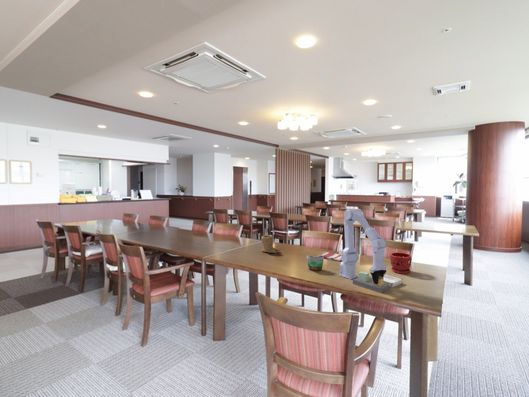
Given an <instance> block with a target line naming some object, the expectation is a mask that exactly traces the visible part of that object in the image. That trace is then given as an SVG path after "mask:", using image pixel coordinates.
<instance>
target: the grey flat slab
mask: <svg viewBox="0 0 529 397" xmlns="http://www.w3.org/2000/svg"><path fill="white" fill-rule="evenodd" d="M352 285H356V286H359V287H361V288H364V289H368V290H370V291H374V292H376V293H379V294H382V293H384V292H386V291H387V292H388V291H389V290H390V287H389V285H388V284H385V283H383V285H382V286H378V285H375V284H372V280H371V279H369V281H367V282H365V281H362V280H359V277H356V278H353V279H352Z"/></svg>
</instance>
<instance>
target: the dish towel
mask: <svg viewBox="0 0 529 397" xmlns="http://www.w3.org/2000/svg"><path fill="white" fill-rule="evenodd" d="M323 255H324V259H323V260H329V261H334V262H340V263H341V262H342V259H341V256H342V254H339V253H335V252H328V251H327V252H323V253H322V254H319V255H317V256H319V257H322V256H323Z"/></svg>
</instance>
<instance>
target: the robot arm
mask: <svg viewBox="0 0 529 397" xmlns="http://www.w3.org/2000/svg"><path fill="white" fill-rule="evenodd" d="M343 214H344V215H343V217H344V218H343V224H344V226H343V227H344V246H345V247H344V249H342V251H341V255H342V256H341V259H342V262H340V264H339V274H338V276H339V277H344V278H347V279H349V280H353V279H356V278H359V275H356V268H357V266H356V265H357V262H358V261H359V259H360V258H359V254H358V250H357V249H356V248H355V236H354V235H355V234H354V223H355V222H358V223H359V225H360V226H361V227H362V228H363V229H364V231H365V233H364V234H365V235H366V236H367V238H368V239H369V241H370V242H371V243H370V246H371V248H372V266H371V267H370V268H369V275H371V276H372V278H373V282H374V284H378V279H379V276H381V277H384V275H386V273H387V268H388V266H387V264H384V263H385V248H386V247H387V240H386V239H385V237H382V236H381V235H379V233H378V232H377V229H376V228H374V227H371V226H370V224H369V222H368V220H367V219H366V217H365V216H364V215H365V214H364V212H363V210H362V209H361V208H347V209H345V211H344V212H343Z"/></svg>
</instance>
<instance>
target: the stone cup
mask: <svg viewBox="0 0 529 397" xmlns="http://www.w3.org/2000/svg"><path fill="white" fill-rule="evenodd" d="M261 243H262V246H263V248H262V249H261V252H265V253H271V254H277V253H279V252H281V249H279V248H275V247H274V246H273V245H274V235H272V234H269V235H268V234H266V235H262V236H261Z"/></svg>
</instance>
